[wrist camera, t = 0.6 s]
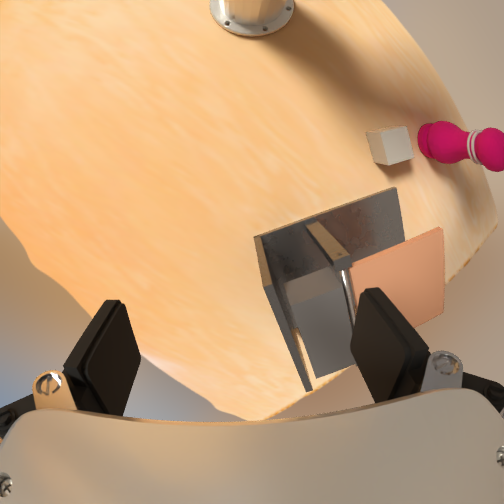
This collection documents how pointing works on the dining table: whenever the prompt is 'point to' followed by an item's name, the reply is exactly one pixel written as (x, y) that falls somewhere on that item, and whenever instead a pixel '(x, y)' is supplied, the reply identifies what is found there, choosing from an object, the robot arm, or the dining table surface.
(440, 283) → the trapdoor
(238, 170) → the dining table surface
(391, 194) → the frame
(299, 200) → the dining table surface
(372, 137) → the light grey cube
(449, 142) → the pepper mill
